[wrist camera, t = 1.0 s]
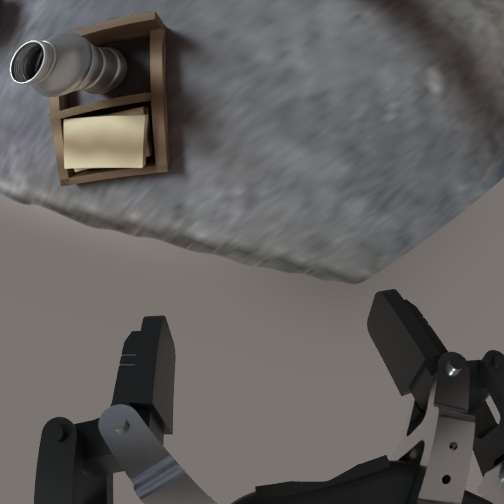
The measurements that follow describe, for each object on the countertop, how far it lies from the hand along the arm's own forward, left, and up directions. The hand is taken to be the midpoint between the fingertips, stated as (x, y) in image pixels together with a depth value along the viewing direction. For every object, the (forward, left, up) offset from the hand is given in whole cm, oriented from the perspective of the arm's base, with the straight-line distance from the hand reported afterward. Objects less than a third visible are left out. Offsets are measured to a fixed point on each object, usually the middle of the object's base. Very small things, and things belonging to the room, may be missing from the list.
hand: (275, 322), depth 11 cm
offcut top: (-4, -16, -29) cm, 33 cm away
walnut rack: (-8, -16, -32) cm, 37 cm away
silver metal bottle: (-13, -16, -32) cm, 38 cm away
